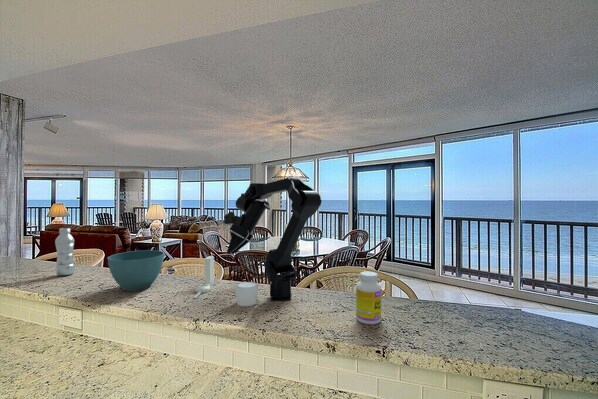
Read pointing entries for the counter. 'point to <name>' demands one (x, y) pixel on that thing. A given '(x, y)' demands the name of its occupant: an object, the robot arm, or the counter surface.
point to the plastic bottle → (64, 252)
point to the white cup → (247, 293)
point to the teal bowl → (136, 268)
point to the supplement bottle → (368, 299)
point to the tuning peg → (207, 277)
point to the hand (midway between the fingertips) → (230, 253)
